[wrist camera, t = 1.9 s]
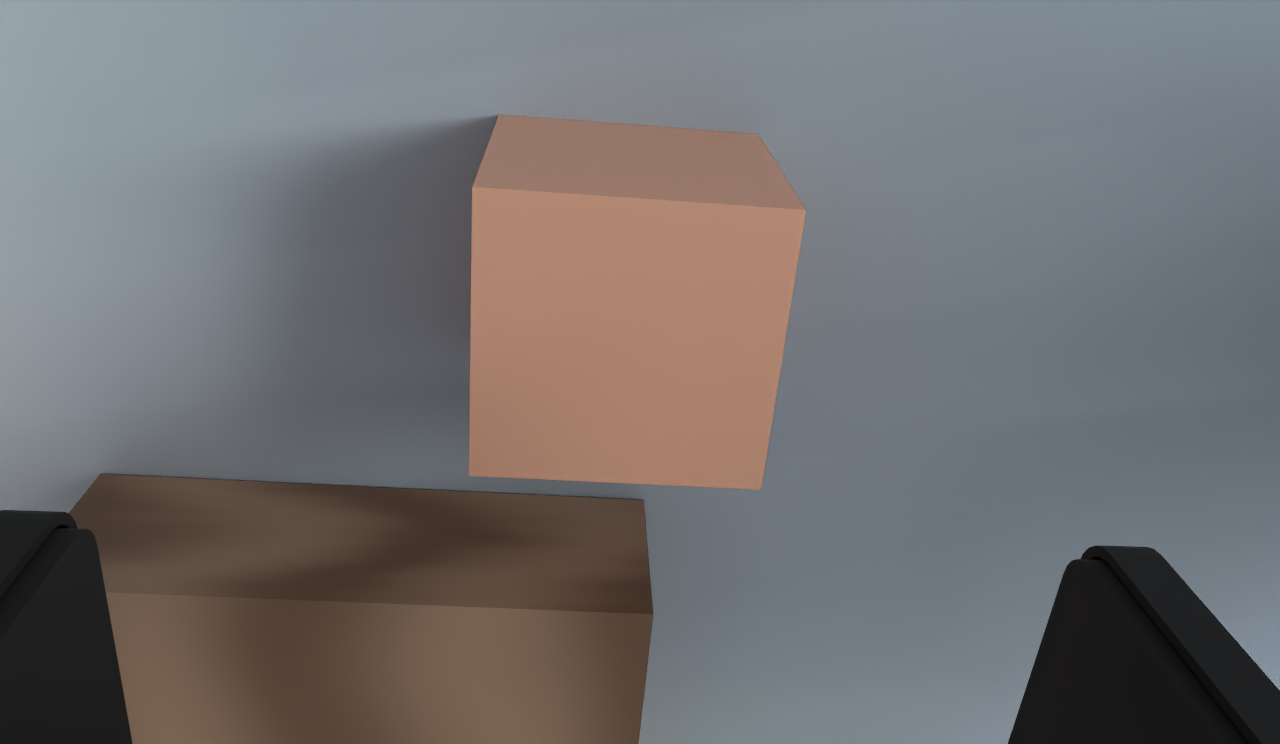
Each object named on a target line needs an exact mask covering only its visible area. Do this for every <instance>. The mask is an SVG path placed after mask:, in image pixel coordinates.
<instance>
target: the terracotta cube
mask: <svg viewBox="0 0 1280 744" xmlns="http://www.w3.org/2000/svg"><path fill="white" fill-rule="evenodd" d="M805 215H806V209H805V207H804V205H803V204H802V202H801V201H800V199H799V198H798V196H797V194H796V193H795V191H794V190H793V188H792V187H791V185H790V183H789V182H788V180H787V179H786V177H785V176H784V174H783V172H782V171H781V169H780V168H779V166H778V164H777V163H776V161H775V160H774V158H773V157H772V155H771V153H770V152H769V150H768V149H767V147H766V146H765V144H764V142H763V141H762V139H761V138H760V136H759V135H758V134H752V133H739V132H725V131H712V130H699V129H685V128H672V127H658V126H645V125H632V124H618V123H605V122H592V121H578V120H565V119H551V118H538V117H525V116H511V115H499V116H498V119H497V122H496V124H495V127H494V130H493V132H492V135H491V138H490V140H489V143H488V146H487V148H486V151H485V154H484V156H483V159H482V162H481V165H480V167H479V170H478V173H477V175H476V178H475V181H474V183H473V186H472V245H471V330H470V415H469V476H480V477H501V478H522V479H543V480H564V481H585V482H606V483H627V484H648V485H669V486H690V487H711V488H732V489H753V490H761V489H762V483H763V476H764V470H765V464H766V458H767V452H768V445H769V439H770V433H771V427H772V420H773V414H774V408H775V402H776V396H777V389H778V383H779V377H780V371H781V364H782V358H783V352H784V346H785V340H786V333H787V327H788V321H789V315H790V309H791V302H792V296H793V290H794V284H795V277H796V271H797V265H798V259H799V253H800V246H801V240H802V234H803V228H804V221H805Z"/></svg>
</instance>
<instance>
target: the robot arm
mask: <svg viewBox="0 0 1280 744" xmlns="http://www.w3.org/2000/svg"><path fill="white" fill-rule="evenodd" d="M0 744H132V737H131V731H130V726H129V720H128V715H127V709H126V703H125V698H124V692H123V687H122V681H121V675H120V670H119V664H118V658H117V653H116V647H115V642H114V636H113V630H112V625H111V619H110V614H109V608H108V602H107V597H106V591H105V585H104V580H103V574H102V569H101V563H100V557H99V552H98V546H97V542H96V538H95V535H94V534H93V532H92V531H91V530H89V529H78V528H77V525H76V522H75V520H74V519H73V517H72V516H71V515H70V514H68V513H66V512H46V511H15V510H2V511H0ZM1008 744H1280V691H1279V689H1278V688H1277V687H1276V686H1275V685H1274V684H1273V683H1272V681H1271V680H1270V679H1269V678H1268V677H1267V676H1266V675H1265V673H1264V672H1263V671H1262V670H1261V669H1260V668H1259V667H1258V665H1257V664H1256V663H1255V662H1254V661H1253V660H1252V659H1251V657H1250V656H1249V655H1248V654H1247V653H1246V652H1245V650H1244V649H1243V648H1242V647H1241V646H1240V645H1239V644H1238V642H1237V641H1236V640H1235V639H1234V638H1233V637H1232V636H1231V634H1230V633H1229V632H1228V631H1227V630H1226V629H1225V628H1224V626H1223V625H1222V624H1221V623H1220V622H1219V621H1218V620H1217V618H1216V617H1215V616H1214V615H1213V614H1212V613H1211V612H1210V610H1209V609H1208V608H1207V607H1206V606H1205V605H1204V604H1203V602H1202V601H1201V600H1200V599H1199V598H1198V597H1197V595H1196V594H1195V593H1194V592H1193V591H1192V590H1191V589H1190V587H1189V586H1188V585H1187V584H1186V583H1185V582H1184V581H1183V579H1182V578H1181V577H1180V576H1179V575H1178V574H1177V573H1176V571H1175V570H1174V569H1173V568H1172V567H1171V566H1170V565H1169V563H1168V562H1167V561H1166V560H1165V559H1164V558H1163V557H1162V555H1160V554H1159V553H1158V552H1157V551H1156V550H1154V549H1151V548H1148V547H1127V546H1093V547H1090V548H1088V549H1087V550H1086V551H1085V552H1084V553H1083V555H1082V557H1081V559H1076V560H1073V561H1071V562H1070V563H1069V564H1068V565H1067V567H1066V569H1065V572H1064V574H1063V577H1062V580H1061V583H1060V586H1059V590H1058V593H1057V596H1056V599H1055V602H1054V605H1053V608H1052V611H1051V614H1050V617H1049V620H1048V623H1047V626H1046V629H1045V632H1044V635H1043V638H1042V641H1041V644H1040V647H1039V650H1038V654H1037V657H1036V660H1035V663H1034V666H1033V669H1032V672H1031V675H1030V678H1029V681H1028V684H1027V687H1026V690H1025V693H1024V696H1023V699H1022V702H1021V705H1020V708H1019V711H1018V714H1017V718H1016V721H1015V724H1014V727H1013V730H1012V733H1011V736H1010V739H1009V742H1008Z"/></svg>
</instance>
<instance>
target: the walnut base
mask: <svg viewBox="0 0 1280 744" xmlns="http://www.w3.org/2000/svg"><path fill="white" fill-rule="evenodd" d="M69 514H70V515H71V516H72V517H73V519H74V520H75V522H76V525H77V528H78V529H89V530H91V531H92V532H93V534H94V535H95V538H96V542H97V546H98V552H99V557H100V563H101V569H102V574H103V580H104V585H105V591H106V597H107V602H108V608H109V614H110V619H111V625H112V630H113V636H114V642H115V647H116V653H117V658H118V664H119V670H120V675H121V681H122V687H123V692H124V698H125V703H126V709H127V715H128V720H129V726H130V731H131V737H132V744H638V742H639V733H640V725H641V716H642V707H643V699H644V690H645V681H646V672H647V664H648V655H649V646H650V637H651V629H652V620H653V606H652V594H651V582H650V570H649V558H648V546H647V534H646V522H645V510H644V500H632V499H611V498H590V497H570V496H549V495H528V494H508V493H487V492H466V491H446V490H425V489H404V488H383V487H363V486H342V485H321V484H301V483H280V482H259V481H239V480H218V479H197V478H177V477H156V476H135V475H114V474H100V476H99V477H98V478H97V479H96V481H95V482H94V483H93V484H92V485H91V487H90V488H89V489H88V490H87V492H86V493H85V494H84V495H83V497H82V498H81V499H80V500H79V501H78V503H77V504H76V505H75V506H74V508H73V509H72V510H71V511H70V512H69Z"/></svg>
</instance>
